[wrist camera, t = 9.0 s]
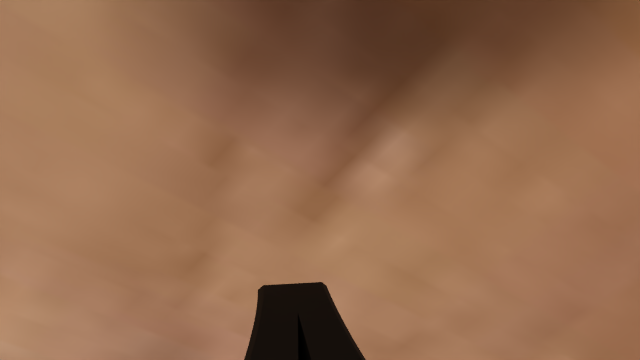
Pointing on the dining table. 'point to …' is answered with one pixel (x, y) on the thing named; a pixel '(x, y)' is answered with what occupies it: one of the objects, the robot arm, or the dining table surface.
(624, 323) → the dining table surface
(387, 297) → the dining table surface
